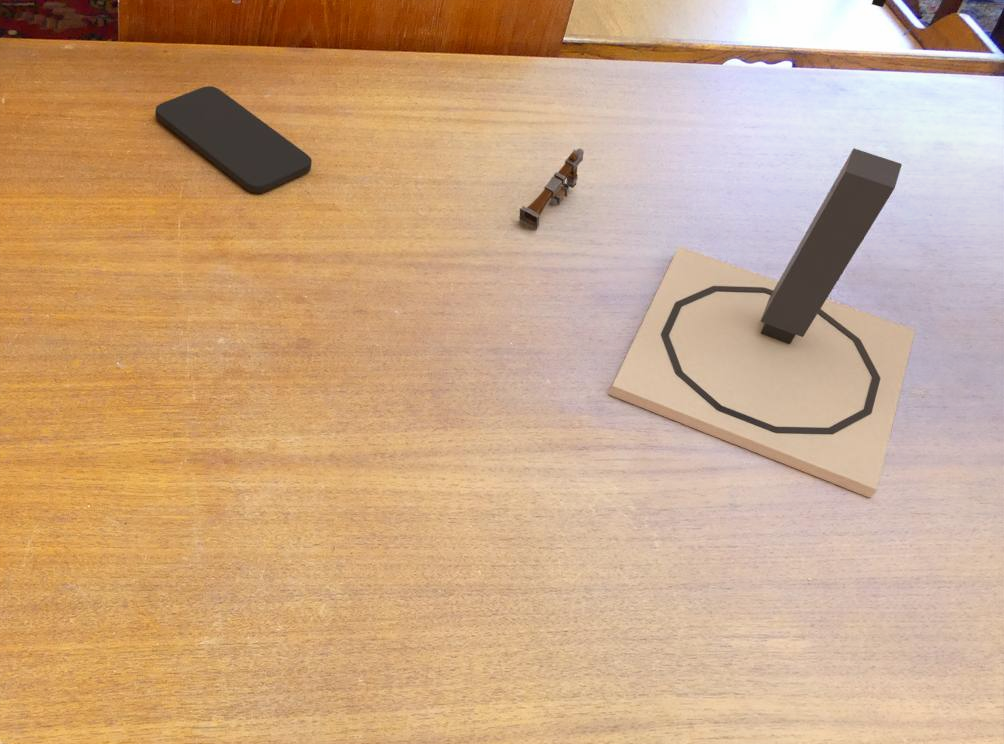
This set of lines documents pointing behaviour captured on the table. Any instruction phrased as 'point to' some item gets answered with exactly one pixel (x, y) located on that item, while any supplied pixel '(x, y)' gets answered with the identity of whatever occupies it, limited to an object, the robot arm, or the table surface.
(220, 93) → the phone
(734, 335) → the sketch board
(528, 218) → the brown two-tone long part
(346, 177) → the table surface
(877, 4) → the robot arm
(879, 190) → the marker
